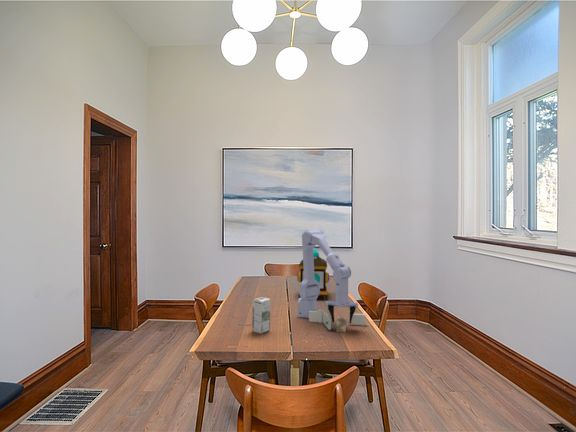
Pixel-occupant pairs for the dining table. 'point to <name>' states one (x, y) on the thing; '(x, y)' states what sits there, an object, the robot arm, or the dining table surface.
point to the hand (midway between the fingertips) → (341, 322)
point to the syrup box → (261, 315)
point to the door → (326, 320)
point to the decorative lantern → (317, 273)
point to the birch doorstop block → (341, 324)
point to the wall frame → (356, 319)
